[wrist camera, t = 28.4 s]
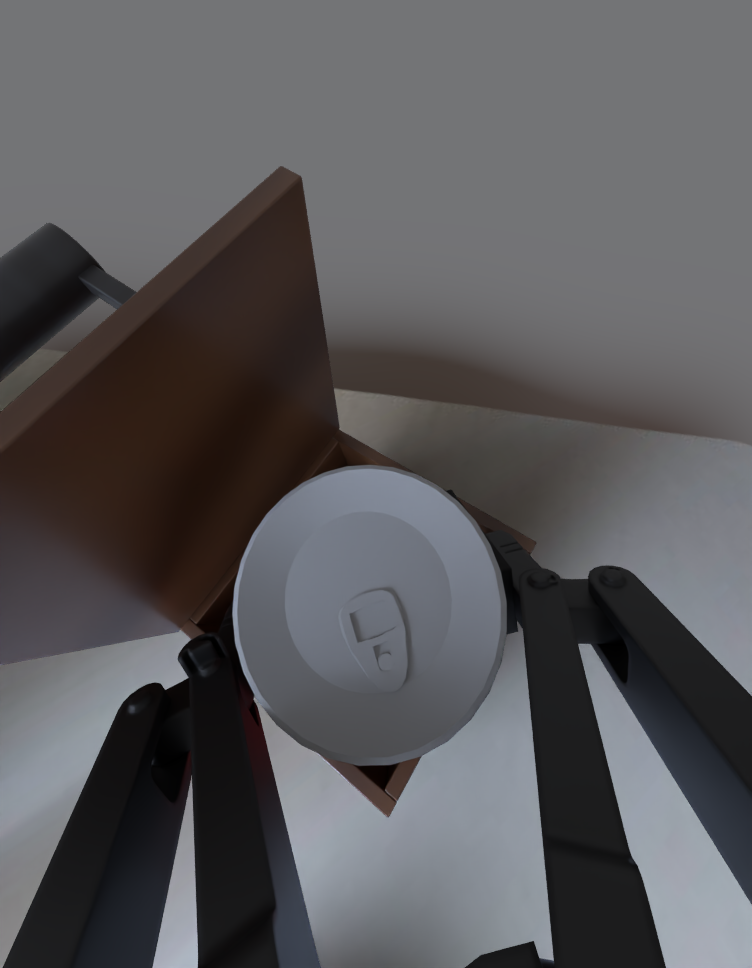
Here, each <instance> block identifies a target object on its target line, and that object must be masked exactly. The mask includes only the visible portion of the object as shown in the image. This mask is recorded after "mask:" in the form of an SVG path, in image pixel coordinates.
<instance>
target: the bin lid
mask: <svg viewBox="0 0 752 968" xmlns="http://www.w3.org/2000/svg"><path fill="white" fill-rule="evenodd" d="M98 298H101V299H102V300H104V301H105V302H107V303H108V304H110V305H111V306H113V307H114V308H116V309H117V310H116V311H115V312H114V313H113V314H111V316H109V317H108V318H107V319H106V320H105V321H104V322H102V323H101V324H100V325H99V326H98V327H97V328H96V329H94V330H93V331H92V332H91V333H90V334H89V335H88V336H87V337H85V338H84V339H83V340H82V341H81V342H80V343H79V344H77V345H76V346H75V347H74V348H73V349H72V350H71V351H69V352H68V353H67V354H66V355H65V356H64V357H63V358H61V359H60V360H59V361H58V362H57V363H56V364H55V365H53V366H52V367H51V368H50V369H49V370H48V371H47V372H45V373H44V374H43V375H42V376H41V377H40V378H39V379H38V380H36V381H35V382H34V383H33V384H32V385H31V386H30V387H28V388H27V389H26V390H25V391H24V392H23V393H22V394H20V395H19V396H18V397H17V398H16V399H15V400H14V401H12V402H11V403H10V404H9V405H8V406H7V407H6V408H5V409H3V410H2V411H1V412H0V665H5V664H11V663H16V662H21V661H27V660H32V659H37V658H42V657H48V656H53V655H58V654H63V653H69V652H74V651H79V650H84V649H90V648H95V647H100V646H106V645H111V644H116V643H121V642H127V641H132V640H137V639H142V638H148V637H153V636H158V635H163V634H169V633H174V632H178V631H179V630H180V629H181V628H182V627H183V625H184V624H185V623H186V622H187V620H188V619H189V618H190V617H191V615H192V614H193V613H194V611H195V610H196V609H197V608H198V606H199V605H200V604H201V603H202V601H203V600H204V599H205V598H206V596H207V595H208V594H209V592H210V591H211V590H212V589H213V587H214V586H215V585H216V584H217V582H218V581H219V580H220V579H221V577H222V576H223V575H224V573H225V572H226V571H227V570H228V568H229V567H230V566H231V565H232V563H233V562H234V561H235V560H236V558H237V557H238V556H239V555H240V553H241V552H242V551H243V549H244V548H245V547H246V546H247V544H248V543H249V541H250V539H251V537H252V535H253V533H254V532H255V530H256V529H257V528H258V526H259V525H260V523H261V522H262V520H263V519H264V517H265V516H266V514H267V513H268V512H269V511H270V510H271V509H272V508H273V507H274V506H275V505H276V504H277V503H278V502H279V501H280V500H281V499H282V498H283V497H284V496H285V495H286V494H288V492H289V491H290V490H291V489H292V487H293V486H294V485H295V484H296V482H297V481H298V480H299V479H300V477H301V476H302V475H303V474H304V472H305V471H306V470H307V468H308V467H309V466H310V465H311V463H312V462H313V461H314V460H315V458H316V457H317V456H318V455H319V453H320V452H321V451H322V449H323V448H324V447H325V446H326V444H327V443H328V442H329V441H330V439H331V438H332V437H333V436H334V434H335V433H336V432H337V430H338V429H339V428H340V426H339V420H338V413H337V407H336V400H335V394H334V387H333V380H332V374H331V367H330V361H329V354H328V347H327V341H326V334H325V328H324V321H323V314H322V308H321V302H320V295H319V288H318V282H317V275H316V268H315V262H314V256H313V249H312V242H311V235H310V229H309V222H308V216H307V209H306V203H305V196H304V190H303V183H302V178H301V176H299V175H298V174H296V173H294V172H292V171H290V170H288V169H286V168H284V167H282V166H280V167H279V168H278V169H276V170H275V171H274V172H273V173H272V174H271V175H270V176H269V177H267V178H266V179H265V180H264V181H263V182H262V183H261V184H259V185H258V186H257V187H256V188H255V189H254V190H253V191H252V192H250V193H249V194H248V195H247V196H246V197H245V198H243V199H242V200H241V201H240V202H239V203H238V204H237V205H236V206H234V207H233V208H232V209H231V210H230V211H229V212H228V213H226V214H225V215H224V216H223V217H222V218H221V219H220V220H219V221H217V222H216V223H215V224H214V225H213V226H212V227H211V228H209V229H208V230H207V231H206V232H205V233H204V234H203V235H201V236H200V237H199V238H198V239H197V240H196V241H195V242H193V243H192V244H191V245H190V246H189V247H188V248H187V249H185V250H184V251H183V252H182V253H181V254H180V255H179V256H178V257H176V258H175V259H174V260H173V261H172V262H171V263H170V264H169V265H167V266H166V267H165V268H164V269H163V270H162V271H161V272H159V273H158V274H157V275H156V276H155V277H154V278H152V279H151V280H150V281H149V282H148V283H147V284H146V285H145V286H143V287H142V288H141V289H140V290H139V291H138V292H135V291H134V290H132V289H131V288H129V287H128V286H126V285H124V284H123V283H121V282H120V281H118V280H117V279H115V278H114V277H112V276H110V275H109V274H107V273H106V272H105V271H104V269H103V268H102V267H101V266H100V265H99V263H98V262H97V261H96V260H95V259H94V258H93V257H92V256H91V255H90V254H89V253H88V252H87V251H86V250H85V249H84V248H83V247H82V246H81V245H80V244H79V243H78V242H77V241H75V240H74V239H73V238H72V237H71V236H70V235H68V234H67V233H66V232H65V231H63V230H62V229H60V228H59V227H57V226H56V225H54V224H52V223H46V224H45V225H44V226H42V227H41V228H40V229H38V230H37V231H36V232H34V233H33V234H32V235H30V236H29V237H28V238H26V239H25V240H24V241H22V242H21V243H20V244H18V245H17V246H16V247H14V248H13V249H12V250H10V251H9V252H8V253H6V254H5V255H4V256H2V257H1V258H0V382H1V381H2V380H3V379H4V378H5V377H7V376H8V375H9V374H10V373H11V372H13V371H14V370H15V369H16V368H17V367H18V366H20V365H21V364H22V363H23V362H24V361H25V360H27V359H28V358H29V357H30V356H31V355H32V354H34V353H35V352H36V351H37V350H38V349H40V348H41V347H42V346H43V345H44V344H45V343H47V342H48V341H49V340H50V339H51V338H52V337H54V336H55V335H56V334H57V333H58V332H59V331H61V330H62V329H63V328H64V327H65V326H66V325H68V324H69V323H70V322H71V321H72V320H74V319H75V318H76V317H77V316H78V315H79V314H81V313H82V312H83V311H84V310H85V309H86V308H88V307H89V306H90V305H91V304H92V303H93V302H95V301H96V300H97V299H98Z"/></svg>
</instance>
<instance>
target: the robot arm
mask: <svg viewBox="0 0 752 968" xmlns="http://www.w3.org/2000/svg"><path fill="white" fill-rule="evenodd" d="M445 492H447V493H448V494H449V495H451V496H452V497H453V498H454V499H456V500H457V501H458V502H459V503H460V504H461V505H462V506H463V504H462V503H461V502H460V500H459V499H458V498H457V497H456V495H455V494H454V493H453V491H452V490H447V491H445ZM463 507H464V506H463ZM464 509H465V510H466V508H465V507H464ZM466 511H467V510H466ZM467 512H468V511H467ZM468 513H469V512H468ZM469 514H470V513H469ZM478 526H479V525H478ZM480 529H481V528H480ZM481 530H482V529H481ZM482 532H483V530H482ZM483 534H484V535H485V537H486V539H487V540H488V542H489V543H490V545H491V548H492V550H493V553H494V556H495V558H496V561H497V563H498V566H499V568H500V571H501V575H502V580H503V586H504V591H505V596H506V601H507V633H506V634H510V633H514V632H518V627H517V621H518V622H519V624H520V625H521V627H522V628H523V635H524V646H525V657H526V667H527V678H528V689H529V699H530V710H531V721H532V731H533V742H534V753H535V763H536V774H537V785H538V795H539V806H540V817H541V828H542V838H543V849H544V860H545V870H546V881H547V892H548V902H549V913H550V924H551V934H552V945H553V956H554V961H552V960H547V959H541V958H539V956H538V953H537V950H536V947H535V944H534V941H532V942H528V943H524V944H521V945H517V946H513V947H509V948H506V949H502V950H498V951H494V952H491V953H487V954H483V955H480V956H479V957H478V958H477V959H475V960H474V961H473V962H471V963H470V964H469V965H468V966H466V967H465V968H666V966H665V962H664V958H663V955H662V951H661V947H660V943H659V939H658V935H657V932H656V928H655V924H654V920H653V916H652V912H651V909H650V905H649V901H648V897H647V894H646V890H645V887H644V883H643V880H642V877H641V874H640V871H639V869H638V866H637V864H636V863H635V861H634V860H633V858H632V856H631V853H630V850H629V847H628V843H627V839H626V835H625V831H624V827H623V823H622V819H621V815H620V811H619V807H618V803H617V799H616V795H615V791H614V787H613V783H612V779H611V775H610V771H609V767H608V763H607V759H606V755H605V751H604V747H603V743H602V739H601V735H600V731H599V727H598V723H597V719H596V715H595V711H594V707H593V703H592V699H591V695H590V691H589V687H588V683H587V679H586V675H585V671H584V667H583V663H582V659H581V655H580V651H579V647H578V643H580V644H591V645H592V646H593V648H594V650H595V651H596V653H597V655H598V656H599V658H600V659H601V661H602V663H603V664H604V666H605V668H606V669H607V671H608V672H609V674H610V676H611V677H612V679H613V680H614V682H615V684H616V685H617V687H618V689H619V690H620V692H621V693H622V695H623V697H624V698H625V700H626V702H627V703H628V705H629V706H630V708H631V710H632V711H633V713H634V714H635V716H636V718H637V719H638V721H639V723H640V724H641V726H642V727H643V729H644V731H645V732H646V734H647V736H648V737H649V739H650V740H651V742H652V744H653V745H654V747H655V749H656V750H657V752H658V753H659V755H660V757H661V758H662V760H663V761H664V763H665V765H666V766H667V768H668V770H669V771H670V773H671V774H672V776H673V778H674V779H675V781H676V783H677V784H678V786H679V787H680V789H681V791H682V792H683V794H684V796H685V797H686V799H687V800H688V802H689V804H690V805H691V807H692V808H693V810H694V812H695V813H696V815H697V817H698V818H699V820H700V821H701V823H702V825H703V826H704V828H705V830H706V831H707V833H708V834H709V836H710V838H711V839H712V841H713V843H714V844H715V846H716V847H717V849H718V851H719V852H720V854H721V855H722V857H723V859H724V860H725V862H726V864H727V865H728V867H729V868H730V870H731V872H732V873H733V875H734V877H735V878H736V880H737V881H738V883H739V885H740V886H741V888H742V890H743V891H744V893H745V894H746V896H747V898H748V899H749V901H750V902H751V904H752V696H751V695H750V694H749V693H748V692H747V691H746V690H745V689H744V688H743V687H742V686H741V685H740V684H739V683H738V681H737V680H736V679H735V678H734V677H733V676H732V675H731V674H730V673H729V672H728V671H727V670H726V669H725V668H724V667H723V666H722V665H721V664H720V663H719V662H718V661H717V660H716V659H715V658H714V657H713V656H712V655H711V653H710V652H709V651H708V650H707V649H706V648H705V647H704V646H703V645H702V644H701V643H700V642H699V641H698V640H697V639H696V638H695V637H694V636H693V635H692V634H691V633H690V632H689V631H688V630H687V629H686V628H685V626H684V625H683V624H682V623H681V622H680V621H679V620H678V619H677V618H676V617H675V616H674V615H673V614H672V613H671V612H670V611H669V610H668V609H667V608H666V607H665V606H664V605H663V604H662V603H661V602H660V601H659V600H658V598H657V597H656V596H655V595H654V594H653V593H652V592H651V591H650V590H649V589H648V588H647V587H646V586H645V585H644V584H643V583H642V582H641V581H640V580H639V579H638V578H637V577H636V576H635V575H634V574H633V573H631V572H630V571H628V570H626V569H623V568H621V567H616V566H599V567H596V568H594V569H592V570H591V571H590V572H589V576H588V579H561V578H560V576H559V575H557V574H556V573H555V572H553V571H550V570H548V569H542V568H541V567H540V566H539V565H538V564H537V563H536V561H535V560H534V559H533V558H532V557H531V556H530V555H529V554H528V553H527V551H526V550H525V549H523V547H522V546H521V545H520V544H519V543H518V541H517V540H516V539H515V538H514V537H513V536H512V535H511V534H509V533H507V532H505V531H503V530H498V531H494V532H490V533H486V534H485V533H484V532H483ZM232 613H233V603H232V604H231V605H230V606H229V607H228V609H227V611H226V614H225V616H224V620H223V621H222V623H221V628H219V631H218V633H215V632H207V633H204V634H201V635H199V636H197V637H195V638H194V639H192V640H191V641H190V642H188V643H187V644H186V645H185V646H184V647H183V649H182V650H181V652H180V653H179V656H178V661H179V662H180V664H181V666H182V667H183V669H184V671H185V672H186V674H187V676H188V677H189V678H188V679H186V680H184V681H182V682H180V683H178V684H176V685H174V686H173V687H171V688H169V689H167V690H165V689H164V688H163V686H162V685H161V684H160V683H151V684H147V685H145V686H143V687H141V688H139V689H138V690H136V691H135V692H134V693H132V694H131V695H130V696H129V697H128V698H127V699H126V700H125V701H124V702H123V703H122V705H121V707H120V708H119V710H118V712H117V714H116V716H115V719H114V721H113V723H112V725H111V728H110V730H109V732H108V734H107V736H106V739H105V741H104V743H103V745H102V748H101V750H100V752H99V754H98V756H97V759H96V761H95V763H94V765H93V768H92V770H91V772H90V774H89V777H88V779H87V781H86V783H85V785H84V788H83V790H82V792H81V794H80V797H79V799H78V801H77V803H76V806H75V808H74V810H73V812H72V814H71V817H70V819H69V821H68V823H67V826H66V828H65V830H64V832H63V835H62V837H61V839H60V841H59V843H58V846H57V848H56V850H55V852H54V855H53V857H52V859H51V861H50V864H49V866H48V868H47V870H46V872H45V875H44V877H43V879H42V881H41V884H40V886H39V888H38V890H37V892H36V895H35V897H34V899H33V901H32V904H31V906H30V908H29V910H28V913H27V915H26V917H25V919H24V921H23V924H22V926H21V928H20V930H19V933H18V935H17V937H16V939H15V942H14V944H13V946H12V948H11V950H10V953H9V955H8V957H7V959H6V962H5V964H4V966H3V968H152V966H153V962H154V957H155V952H156V947H157V942H158V937H159V932H160V927H161V922H162V918H163V913H164V908H165V903H166V898H167V893H168V888H169V883H170V878H171V874H172V869H173V864H174V859H175V854H176V849H177V844H178V839H179V834H180V830H181V825H182V820H183V815H184V810H185V805H186V800H187V795H188V790H189V786H190V781H191V776H192V787H193V816H194V845H195V875H196V904H197V933H198V968H321V966H320V963H319V959H318V955H317V952H316V947H315V943H314V939H313V935H312V931H311V927H310V922H309V918H308V914H307V910H306V906H305V902H304V898H303V893H302V889H301V885H300V881H299V877H298V873H297V869H296V864H295V860H294V856H293V852H292V848H291V844H290V840H289V835H288V831H287V827H286V823H285V819H284V815H283V811H282V806H281V802H280V798H279V794H278V790H277V786H276V781H275V777H274V773H273V769H272V765H271V761H270V757H269V752H268V748H267V744H266V740H265V736H264V732H263V728H262V723H261V719H260V715H259V711H258V707H257V705H256V703H255V701H254V700H253V698H254V693H253V691H252V689H251V687H250V685H249V683H248V681H247V679H246V677H245V675H244V673H243V669H242V666H241V662H240V659H239V655H238V652H237V648H236V645H235V636H234V626H233V616H232Z"/></svg>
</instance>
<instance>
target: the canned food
mask: <svg viewBox="0 0 752 968" xmlns="http://www.w3.org/2000/svg"><path fill="white" fill-rule="evenodd" d="M232 616H233V626H234V636H235V645H236V648H237V652H238V655H239V659H240V662H241V666H242V669H243V673H244V675H245V677H246V679H247V681H248V683H249V685H250V687H251V689H252V691H253V693H254V695H255V697H256V699H257V700H258V702H259V703H260V704H261V705H262V707H263V708H264V709H265V711H266V712H267V713H268V714H269V716H270V717H271V718H272V719H273V721H274V722H275V723H276V725H278V726H279V727H280V728H281V729H282V730H284V731H285V732H286V733H287V734H288V735H290V736H291V737H292V738H293V739H294V740H296V741H297V742H298V743H299V744H301V745H303V746H304V747H306V748H308V749H310V750H312V751H314V752H316V753H318V754H320V755H322V756H324V757H326V758H328V759H332V760H337V761H341V762H345V763H350V764H354V765H358V766H365V765H392V764H396V763H399V762H403V761H406V760H410V759H414V758H417V757H421V756H422V755H424V754H426V753H428V752H429V751H431V750H433V749H435V748H436V747H438V746H440V745H442V744H444V743H445V742H447V741H448V740H450V739H451V738H452V737H453V736H454V735H455V734H456V733H457V732H458V731H459V730H460V729H461V728H462V727H463V726H464V725H466V724H467V723H468V722H469V721H470V720H471V719H472V717H473V716H474V714H475V713H476V711H477V710H478V708H479V707H480V705H481V704H482V702H483V701H484V699H485V698H486V697H487V695H488V694H489V692H490V689H491V687H492V684H493V682H494V679H495V677H496V674H497V672H498V669H499V667H500V664H501V661H502V655H503V650H504V644H505V639H506V633H507V601H506V596H505V591H504V586H503V580H502V575H501V571H500V568H499V566H498V563H497V561H496V558H495V556H494V553H493V550H492V548H491V545H490V543H489V542H488V540H487V539H486V537H485V535H484V534H483V532H482V530H481V529H480V527H479V526H478V524H477V522H476V521H475V520H474V519H473V517H472V516H471V515H470V514H469V513H468V512H467V511H466V510H465V509H464V507H463V506H462V505H461V504H460V503H459V502H458V501H457V500H456V499H454V498H453V497H452V496H451V495H449V494H448V493H447V492H445V491H444V490H443V489H442V488H440V487H439V486H438V485H436V484H434V483H432V482H430V481H428V480H426V479H424V478H422V477H420V476H419V475H417V474H414V473H410V472H407V471H404V470H401V469H397V468H394V467H386V466H378V465H359V466H346V467H343V468H339V469H335V470H331V471H328V472H324V473H322V474H320V475H318V476H316V477H314V478H311V479H309V480H307V481H305V482H303V483H302V484H300V485H299V486H298V487H296V488H295V489H293V490H292V491H291V492H289V493H288V494H286V495H285V496H284V497H283V498H282V499H281V500H280V501H279V502H278V503H277V504H276V505H275V506H274V507H273V508H272V509H271V510H270V511H269V512H268V513H267V514H266V516H265V517H264V519H263V520H262V522H261V523H260V525H259V526H258V528H257V529H256V530H255V532H254V533H253V535H252V537H251V539H250V541H249V544H248V546H247V548H246V550H245V553H244V555H243V557H242V559H241V563H240V567H239V571H238V575H237V579H236V583H235V588H234V600H233V613H232Z"/></svg>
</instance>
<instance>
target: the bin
mask: <svg viewBox="0 0 752 968" xmlns="http://www.w3.org/2000/svg"><path fill="white" fill-rule="evenodd" d="M359 465H378V466H386V467H394V468H397V469H401V470H404V471H407V472H410V473H414V472H412V471H411V470H409V469H407V468H405V467H404V466H402V465H400V464H398V463H397V462H395V461H393V460H391V459H390V458H388V457H386V456H384V455H383V454H381V453H379V452H377V451H376V450H374V449H372V448H370V447H369V446H367V445H365V444H363V443H362V442H360V441H358V440H356V439H355V438H353V437H351V436H349V435H348V434H346V433H344V432H342V431H341V430H339V429H338V430H337V432H336V433H335V434H334V436H333V437H332V438H331V439H330V441H329V442H328V443H327V444H326V446H325V447H324V448H323V449H322V451H321V452H320V453H319V455H318V456H317V457H316V458H315V460H314V461H313V462H312V463H311V465H310V466H309V467H308V468H307V470H306V471H305V472H304V474H303V475H302V476H301V477H300V479H299V480H298V481H297V482H296V484H295V485H294V486H293V487H292V489H291V490H290V491H289V492H291V491H292V490H293V489H295V488H296V487H298V486H299V485H300V484H302V483H303V482H305V481H307V480H309V479H311V478H314V477H316V476H318V475H320V474H322V473H324V472H328V471H331V470H335V469H339V468H343V467H346V466H359ZM414 474H416V473H414ZM417 475H418V474H417ZM420 477H421V476H420ZM422 478H423V477H422ZM424 479H425V478H424ZM443 490H444V489H443ZM444 491H446V490H444ZM289 492H288V493H289ZM457 498H458V497H457ZM458 499H459V500H460V502H461V503H462V504H463V506H464V507H465V508H466V510H467V511H468V512H469V513H470V515H471V516H472V517H473V519H474V520H475V521H476V522H477V524H478V525H479V527H480V528H481V529H482V530H483V532H484V533H485V534H486V533H490V532H494V531H498V530H503V531H505V532H507V533H509V534H511V535H512V536H513V537H514V538H515V539H516V540H517V541H518V543H519V544H520V545H521V546H522V547H523V549H525V550H526V551H527V553H528V554H529V555H530V553H531V552H532V550H533V549H534V547H535V545H536V542H535V541H533V540H531V539H530V538H528V537H526V536H524V535H523V534H521V533H519V532H517V531H516V530H514V529H512V528H510V527H509V526H507V525H505V524H503V523H502V522H500V521H498V520H496V519H495V518H493V517H491V516H489V515H488V514H486V513H484V512H482V511H481V510H479V509H477V508H475V507H474V506H472V505H470V504H468V503H467V502H465V501H463V500H461V499H460V498H458ZM248 544H249V543H248ZM248 544H247V546H248ZM247 546H246V547H245V548H244V549H243V551H242V552H241V553H240V555H239V556H238V557H237V558H236V560H235V561H234V562H233V563H232V565H231V566H230V567H229V568H228V570H227V571H226V572H225V573H224V575H223V576H222V577H221V579H220V580H219V581H218V582H217V584H216V585H215V586H214V587H213V589H212V590H211V591H210V592H209V594H208V595H207V596H206V598H205V599H204V600H203V601H202V603H201V604H200V605H199V606H198V608H197V609H196V610H195V611H194V613H193V614H192V615H191V617H190V618H189V619H188V620H187V622H186V623H185V624H184V625H183V627H182V628H181V629H180V630H181V631H183V632H184V633H185V634H186V635H187V636H188V637H189V638H190V639H191V640H192V639H194V638H195V637H197V636H199V635H201V634H204V633H207V632H215V633H218V631H219V628H221V623H222V621H223V620H224V616H225V614H226V611H227V609H228V607H229V606H230V605H231V604H232V603H233V600H234V588H235V583H236V579H237V575H238V571H239V567H240V563H241V559H242V557H243V555H244V553H245V550H246V548H247ZM254 697H255V695H254ZM255 698H256V697H255ZM317 754H318V753H317ZM318 755H319V756H320V757H321V758H323V759H324V760H325V761H326V762H327V763H328V764H329V765H330V766H331V767H332V768H334V769H335V770H336V771H337V772H338V773H339V774H340V775H341V776H342V777H344V778H345V779H346V780H347V781H348V782H349V783H350V784H351V785H352V786H353V787H355V788H356V789H357V790H358V791H359V792H360V793H361V794H362V795H363V796H364V797H366V798H367V799H368V800H369V801H370V802H371V803H372V804H373V805H374V806H375V807H377V808H378V809H379V810H380V811H381V812H382V813H383V814H384V815H385V816H386V817H389V816H390V814H391V812H392V811H393V809H394V807H395V805H396V802H397V800H398V799H399V797H400V796H401V794H402V792H403V790H404V788H405V786H406V784H407V783H408V781H409V779H410V777H411V775H412V773H413V771H414V770H415V768H416V766H417V764H418V762H419V760H420V758H421V757H422V756H421V757H417V758H414V759H410V760H406V761H403V762H399V763H396V764H392V765H365V766H358V765H354V764H350V763H345V762H341V761H337V760H332V759H328V758H326V757H324V756H322V755H320V754H318Z"/></svg>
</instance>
